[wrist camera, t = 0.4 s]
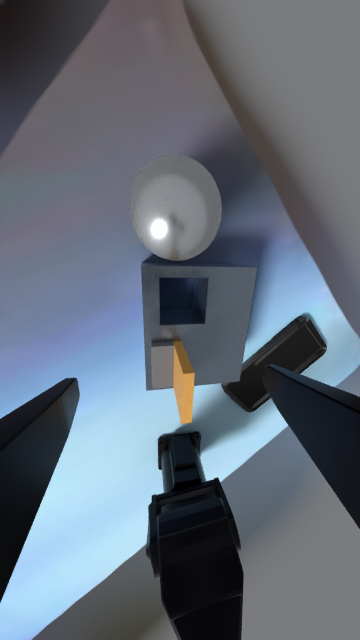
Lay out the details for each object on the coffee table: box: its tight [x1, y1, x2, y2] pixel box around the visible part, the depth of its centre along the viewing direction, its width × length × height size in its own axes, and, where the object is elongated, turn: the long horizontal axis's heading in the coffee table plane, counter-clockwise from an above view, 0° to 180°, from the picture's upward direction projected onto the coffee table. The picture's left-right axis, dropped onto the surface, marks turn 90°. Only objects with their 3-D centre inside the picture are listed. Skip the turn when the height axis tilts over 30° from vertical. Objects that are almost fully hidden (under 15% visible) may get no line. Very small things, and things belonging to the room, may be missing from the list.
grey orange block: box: [151, 341, 195, 424], centre depth 16 cm, size 4×3×5 cm, turn 179°
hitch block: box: [141, 263, 257, 391], centre depth 20 cm, size 12×10×5 cm
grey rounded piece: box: [130, 154, 222, 261], centre depth 15 cm, size 6×6×7 cm
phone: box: [221, 316, 327, 412], centre depth 27 cm, size 8×1×15 cm
